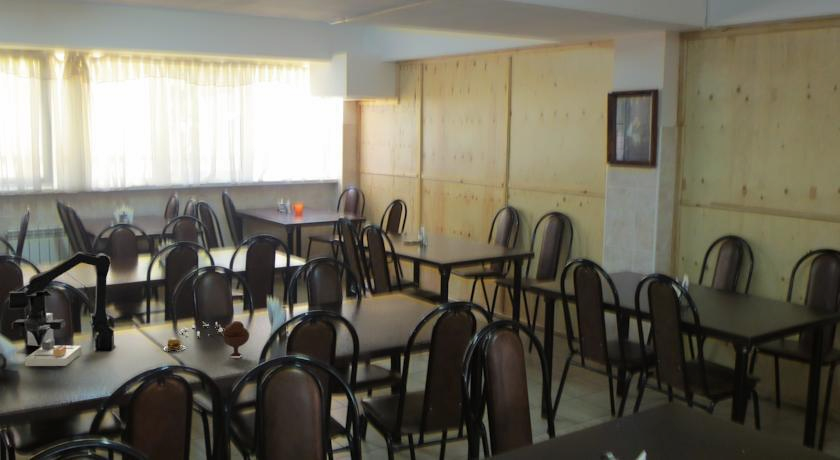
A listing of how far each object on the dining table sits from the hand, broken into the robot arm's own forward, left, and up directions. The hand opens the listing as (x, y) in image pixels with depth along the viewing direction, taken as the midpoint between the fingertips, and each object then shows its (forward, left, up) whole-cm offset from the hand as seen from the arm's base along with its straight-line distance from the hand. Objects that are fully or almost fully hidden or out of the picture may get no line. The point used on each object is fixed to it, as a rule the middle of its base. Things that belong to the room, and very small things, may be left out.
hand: (39, 345), depth 314 cm
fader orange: (-11, +10, -1) cm, 15 cm away
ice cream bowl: (-77, +1, -4) cm, 78 cm away
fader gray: (-3, 0, -1) cm, 4 cm away
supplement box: (+7, -18, -4) cm, 20 cm away
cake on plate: (-50, -10, -5) cm, 52 cm away
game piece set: (-56, -38, -5) cm, 68 cm away
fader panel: (-7, +5, -4) cm, 10 cm away
